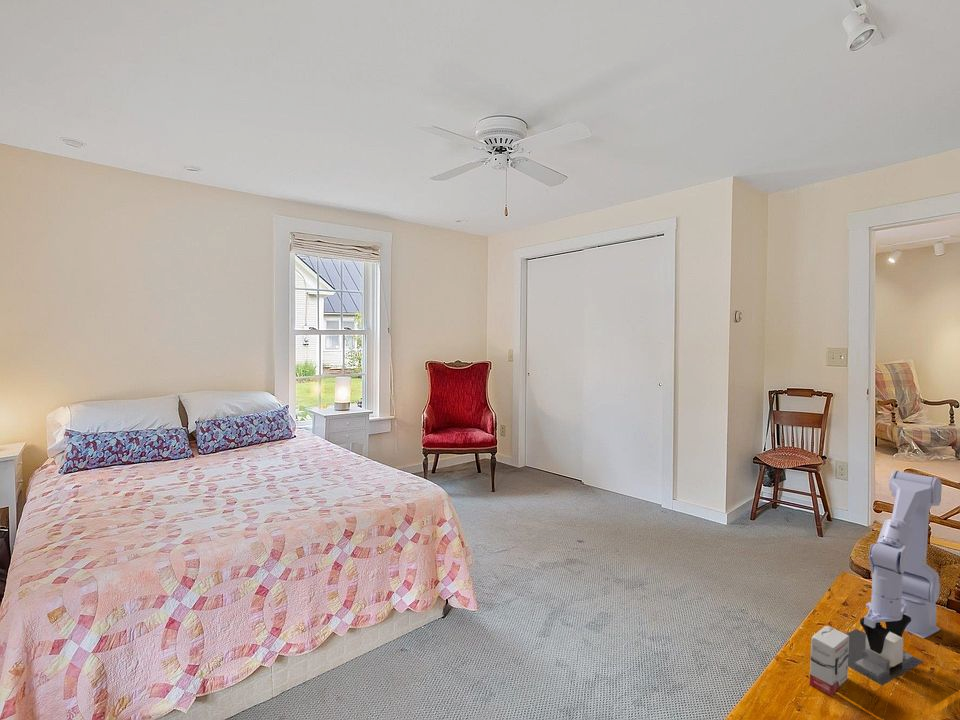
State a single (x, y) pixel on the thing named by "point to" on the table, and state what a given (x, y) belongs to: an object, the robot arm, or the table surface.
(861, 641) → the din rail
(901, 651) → the block
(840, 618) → the table surface
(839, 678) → the ink box
